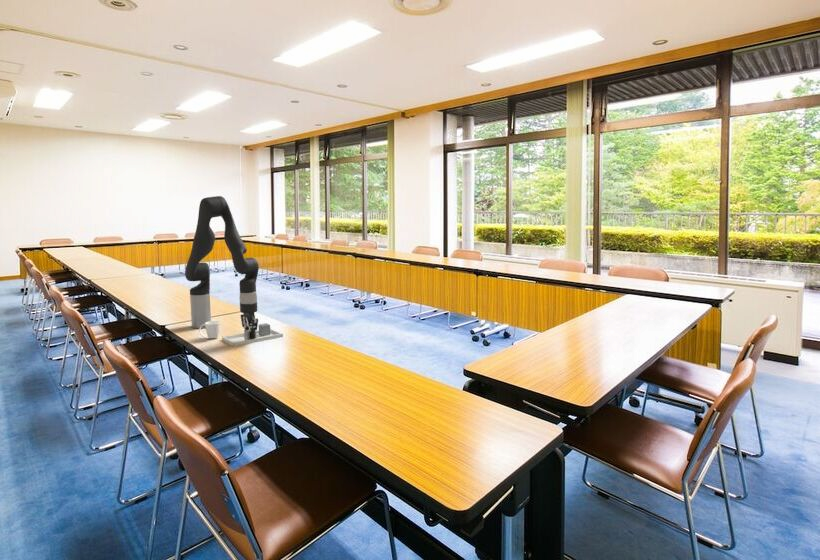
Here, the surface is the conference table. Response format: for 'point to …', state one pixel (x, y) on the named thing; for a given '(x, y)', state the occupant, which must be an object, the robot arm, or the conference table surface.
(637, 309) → the conference table surface
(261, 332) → the matte grey cube
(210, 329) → the cup
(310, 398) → the conference table surface
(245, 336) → the stone
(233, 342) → the divided tray
